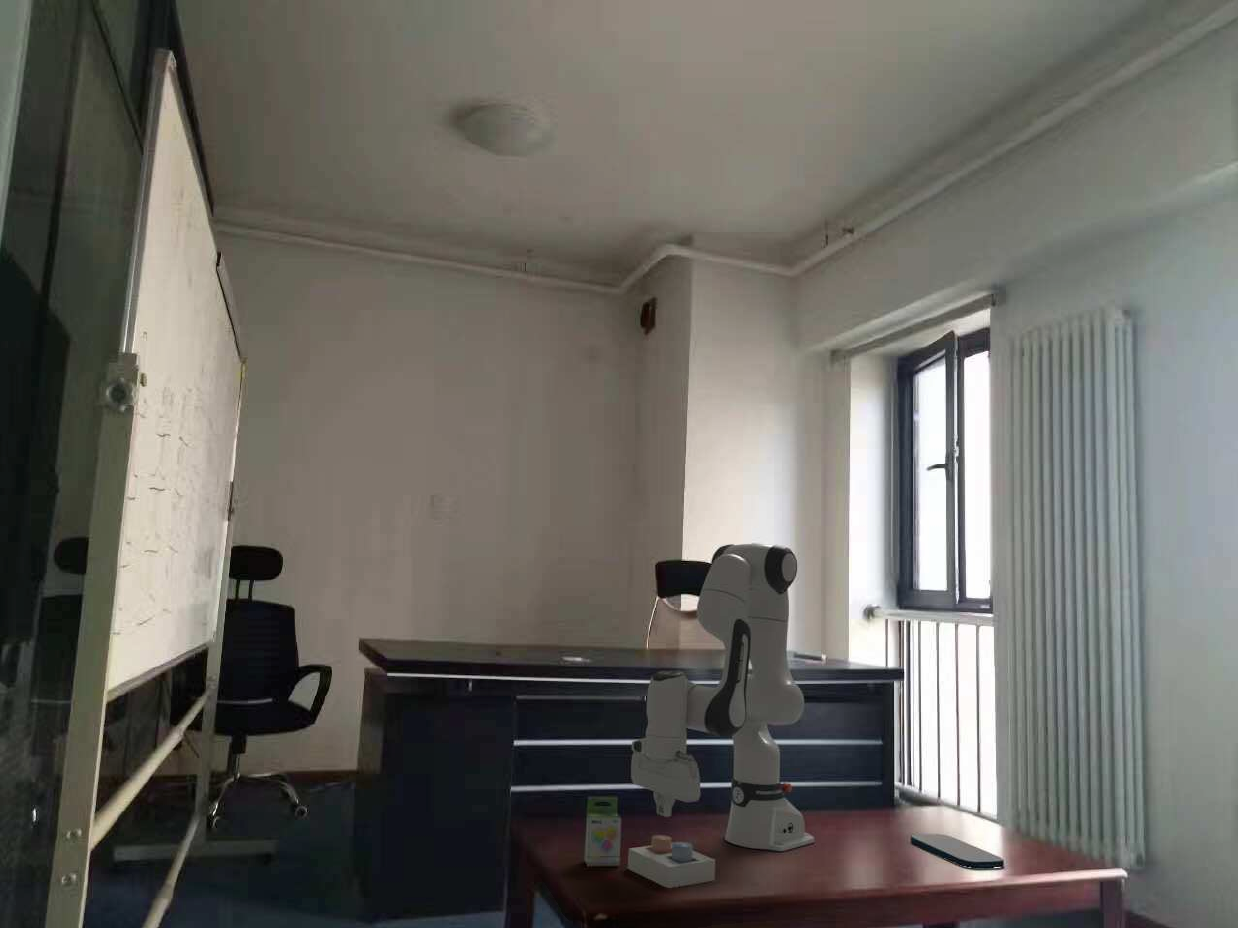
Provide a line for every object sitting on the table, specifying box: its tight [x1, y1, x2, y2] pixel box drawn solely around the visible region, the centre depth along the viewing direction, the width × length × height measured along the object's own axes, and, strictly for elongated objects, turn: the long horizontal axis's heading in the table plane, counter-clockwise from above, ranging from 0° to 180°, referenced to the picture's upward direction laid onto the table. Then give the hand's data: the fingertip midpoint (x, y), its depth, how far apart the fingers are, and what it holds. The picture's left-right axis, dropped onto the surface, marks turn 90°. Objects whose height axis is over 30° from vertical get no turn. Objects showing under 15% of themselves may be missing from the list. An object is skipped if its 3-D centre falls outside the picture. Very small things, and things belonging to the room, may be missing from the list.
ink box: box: [583, 796, 622, 867], centre depth 189 cm, size 7×4×13 cm, turn 103°
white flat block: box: [627, 842, 716, 889], centre depth 184 cm, size 12×14×4 cm
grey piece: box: [672, 841, 694, 864], centre depth 181 cm, size 4×4×4 cm
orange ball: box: [650, 834, 673, 854], centre depth 187 cm, size 4×4×4 cm
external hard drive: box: [910, 833, 1005, 868], centre depth 212 cm, size 24×12×2 cm, turn 17°
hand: (663, 814), depth 188 cm, fingers closed
